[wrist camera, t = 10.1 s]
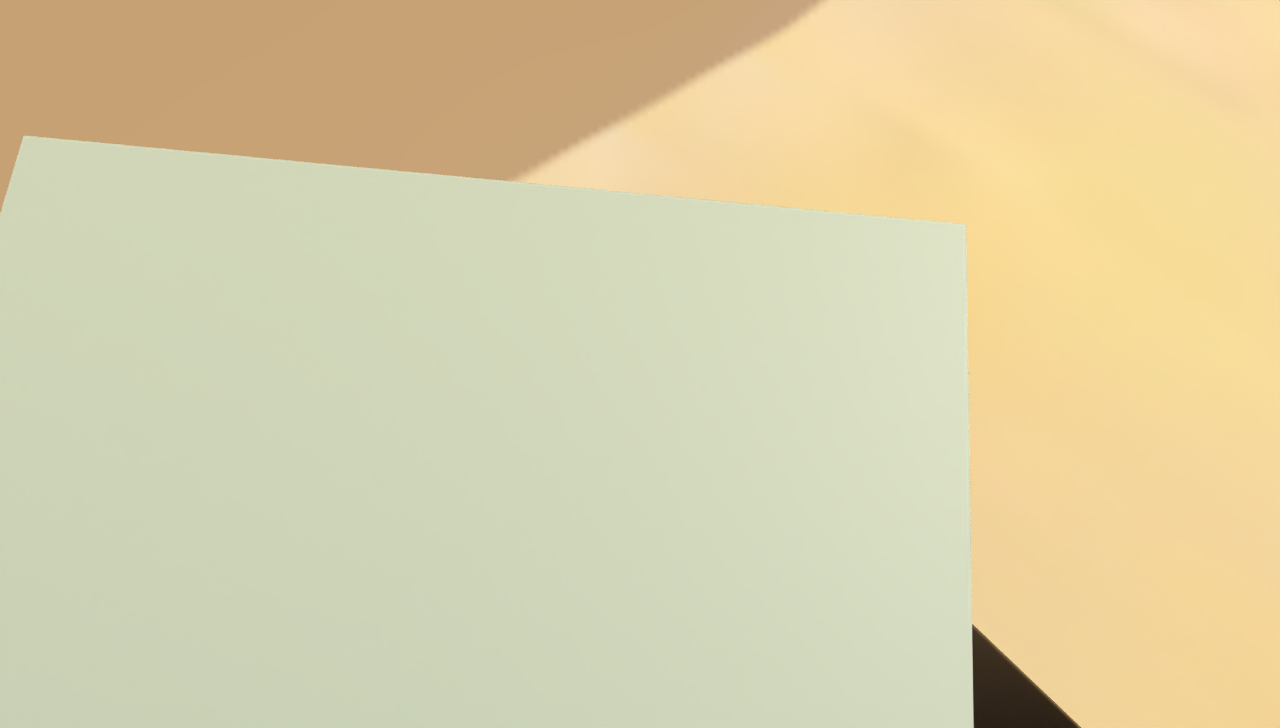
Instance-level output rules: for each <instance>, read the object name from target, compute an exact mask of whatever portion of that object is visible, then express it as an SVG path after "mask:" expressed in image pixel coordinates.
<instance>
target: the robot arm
mask: <svg viewBox="0 0 1280 728" xmlns="http://www.w3.org/2000/svg"><path fill="white" fill-rule="evenodd" d="M972 656H973V722H974V728H1081V727H1080V726H1079V725H1078V724H1077V723H1076V722H1075V721H1074V720H1073V719H1072V718H1071V717H1070V716H1068V715H1067V714H1066V713H1065V712H1064V711H1063V710H1062V709H1061V708H1060V707H1059V706H1058V705H1057V704H1056V703H1055V702H1054V701H1053V700H1052V699H1051V698H1050V697H1049V696H1047V695H1046V694H1045V693H1044V692H1043V691H1042V690H1041V689H1040V688H1039V687H1038V686H1037V685H1036V684H1035V683H1034V682H1033V681H1032V680H1031V679H1030V678H1029V677H1028V676H1026V675H1025V674H1024V673H1023V672H1022V671H1021V670H1020V669H1019V668H1018V667H1017V666H1016V665H1015V664H1014V663H1013V662H1012V661H1011V660H1010V659H1009V658H1008V657H1007V656H1006V655H1004V654H1003V653H1002V652H1001V651H1000V650H999V649H998V648H997V647H996V646H995V645H994V644H993V643H992V642H991V641H990V640H989V639H988V638H987V637H986V636H985V635H983V634H982V633H981V632H980V631H979V630H978V629H977V628H976V627H975V626H974V625H973V624H972Z"/></svg>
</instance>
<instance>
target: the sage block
mask: <svg viewBox="0 0 1280 728" xmlns="http://www.w3.org/2000/svg"><path fill="white" fill-rule="evenodd" d="M0 728H974V722H973V656H972V590H971V524H970V458H969V392H968V326H967V260H966V224H957V223H947V222H936V221H925V220H915V219H904V218H893V217H883V216H872V215H862V214H851V213H840V212H830V211H819V210H809V209H798V208H787V207H777V206H766V205H755V204H745V203H734V202H724V201H713V200H702V199H692V198H681V197H670V196H660V195H649V194H639V193H628V192H617V191H607V190H596V189H586V188H575V187H564V186H554V185H543V184H532V183H522V182H511V181H501V180H490V179H479V178H469V177H458V176H447V175H437V174H426V173H416V172H405V171H394V170H383V169H373V168H362V167H352V166H341V165H331V164H320V163H309V162H298V161H288V160H278V159H267V158H256V157H245V156H235V155H224V154H214V153H203V152H193V151H182V150H171V149H160V148H150V147H140V146H129V145H118V144H108V143H97V142H86V141H76V140H65V139H55V138H42V137H33V136H24V137H23V140H22V143H21V147H20V150H19V153H18V157H17V160H16V163H15V166H14V170H13V173H12V177H11V180H10V183H9V187H8V190H7V193H6V196H5V200H4V203H3V206H2V210H1V213H0Z"/></svg>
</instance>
